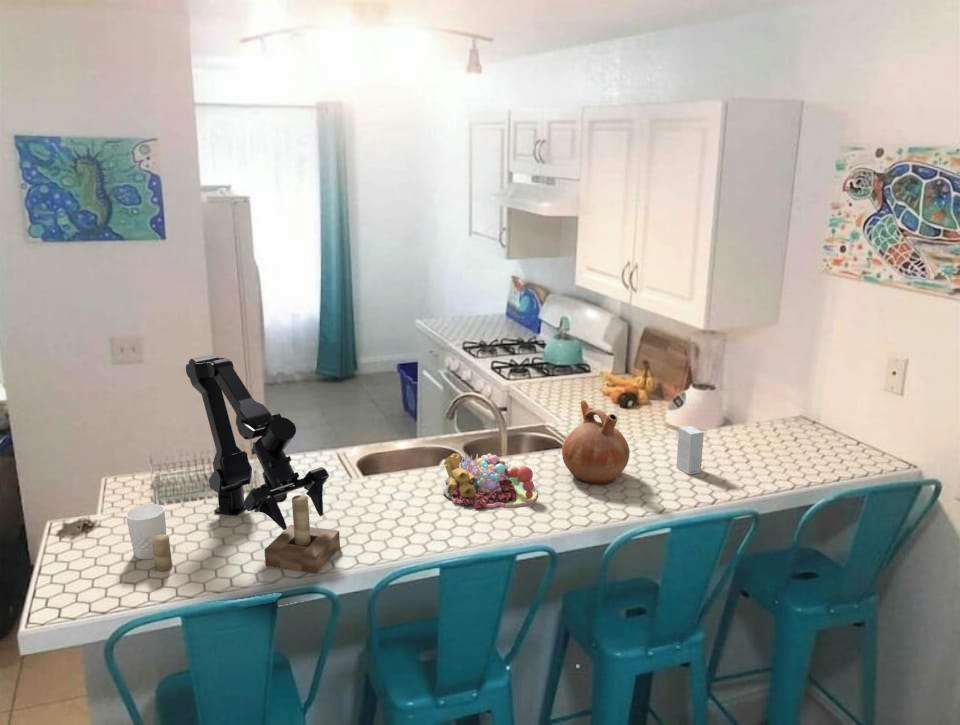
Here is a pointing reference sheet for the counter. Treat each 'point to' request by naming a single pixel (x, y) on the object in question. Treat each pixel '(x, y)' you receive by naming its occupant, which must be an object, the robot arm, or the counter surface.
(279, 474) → the robot arm
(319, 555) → the walnut socket block
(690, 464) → the skincare box
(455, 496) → the candy landscape model
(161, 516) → the white cup
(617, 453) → the jug
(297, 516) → the tall oak dowel
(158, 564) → the short oak dowel
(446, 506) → the counter surface
